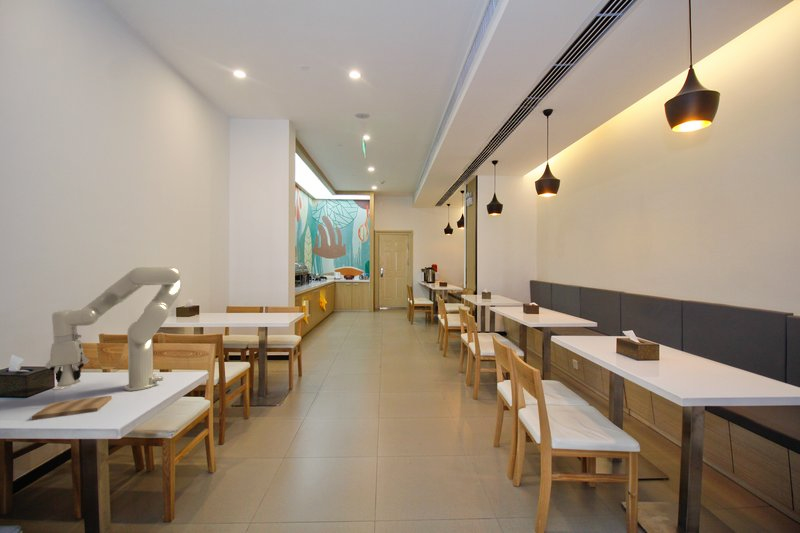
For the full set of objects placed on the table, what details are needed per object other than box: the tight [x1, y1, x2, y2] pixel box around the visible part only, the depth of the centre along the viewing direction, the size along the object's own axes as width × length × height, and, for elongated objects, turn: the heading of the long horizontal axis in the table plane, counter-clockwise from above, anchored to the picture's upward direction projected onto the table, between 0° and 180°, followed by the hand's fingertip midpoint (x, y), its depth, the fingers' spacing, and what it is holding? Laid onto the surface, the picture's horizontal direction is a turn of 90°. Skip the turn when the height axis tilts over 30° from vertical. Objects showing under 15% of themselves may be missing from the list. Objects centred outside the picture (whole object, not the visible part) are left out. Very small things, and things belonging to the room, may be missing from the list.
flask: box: [56, 365, 81, 387], centre depth 152 cm, size 7×7×10 cm
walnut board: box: [31, 395, 113, 421], centre depth 142 cm, size 20×14×2 cm
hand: (68, 379), depth 152 cm, fingers closed on flask, 5 cm apart
